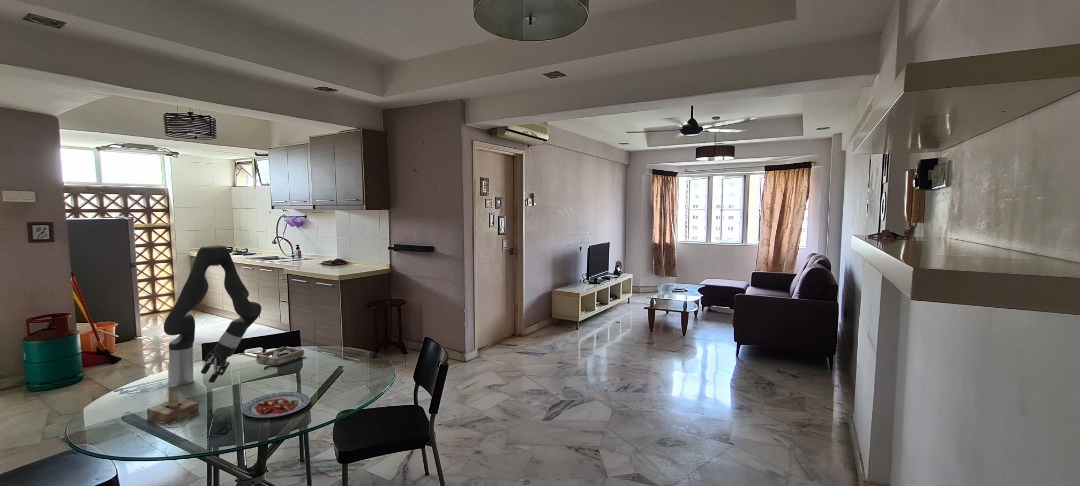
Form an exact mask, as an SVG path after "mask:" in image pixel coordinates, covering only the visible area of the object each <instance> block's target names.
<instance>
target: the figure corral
mask: <svg viewBox="0 0 1080 486" xmlns="http://www.w3.org/2000/svg"><path fill="white" fill-rule="evenodd" d="M277 350H278V351H279V352H282V351H284V350H287V351H290V352H292V353H290V354H283V355H280V356H278V358H274V357H269V356H270V355H273V352H272V351H276V352H277ZM303 355H304V356H305V350H304V349H301V348H295V347H291V346H286V347H284V346H281V347H278V348H275V349H272V350H269V351H265V352H262V353H259V354H256V362H257V361H258V362H263V363H267V364H266V365H268V364H271V365H270V366H273V365H275V366H274V367H277V366H276V365H278V364H281V363H283V362H285V361H288V360H291V359H294V358H297V357H300V356H303ZM258 362H257V363H258ZM263 363H262V364H263ZM281 365H282V364H281ZM278 366H279V365H278Z"/></svg>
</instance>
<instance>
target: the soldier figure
mask: <svg viewBox="0 0 1080 486" xmlns="http://www.w3.org/2000/svg"><path fill="white" fill-rule="evenodd" d="M272 352H273V355H272V357H274V358H278V357H279V356H277V355H278V354H279V351H278V350H277V352H276V351H272Z"/></svg>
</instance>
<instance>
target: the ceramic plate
mask: <svg viewBox="0 0 1080 486" xmlns="http://www.w3.org/2000/svg"><path fill="white" fill-rule="evenodd" d="M310 400H311V399H310V396H309V395H307V394H306V393H302V392H296V391H282V392H281V391H279V392H273V393H268V394H264V395H260V396H257V397H255V398H252V399H251V400H249V401H247V402H245V403H244V404H243V405H242V407H241V411H242V413H243V414H244V415H245V416H247V417H253V418H275V417H282V416H286V415H289V414H292V413H295V412H298V411H300V410H301V409H303V408H305V407H306V406H307V405H309V403H310ZM289 401H291V402H292V403H291V402H289ZM294 401H296V402H297V403H298V404H299V405H298V407H296V405H295V403H294ZM295 407H296V408H295ZM294 408H295V409H294Z"/></svg>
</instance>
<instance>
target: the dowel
mask: <svg viewBox="0 0 1080 486" xmlns="http://www.w3.org/2000/svg"><path fill="white" fill-rule="evenodd" d="M167 389H168V393H167V395H168V396H167V397H168V399H167V400H168V401H167V402H168V407H169V409H172V408H175V407H178V398H179V385H168V386H167Z"/></svg>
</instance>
